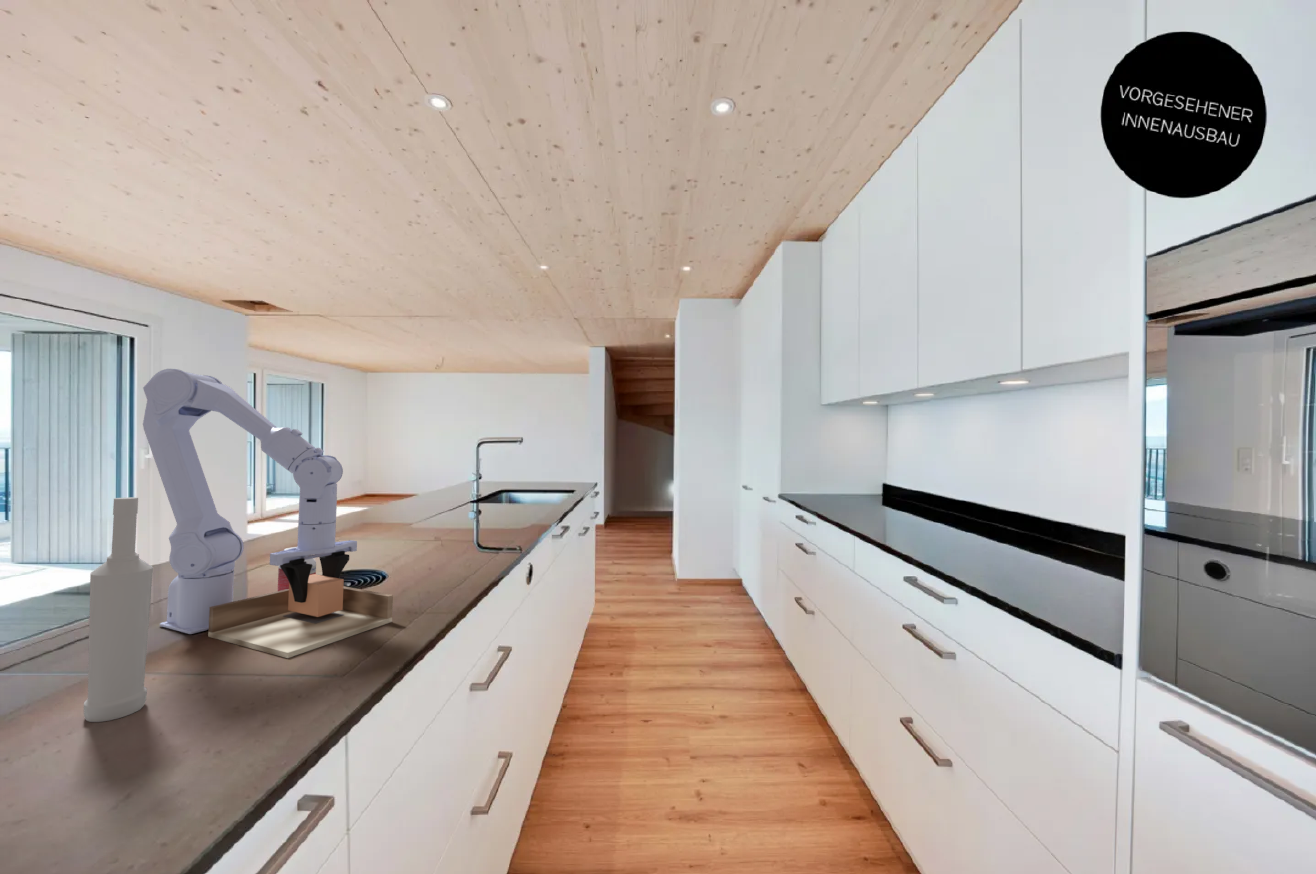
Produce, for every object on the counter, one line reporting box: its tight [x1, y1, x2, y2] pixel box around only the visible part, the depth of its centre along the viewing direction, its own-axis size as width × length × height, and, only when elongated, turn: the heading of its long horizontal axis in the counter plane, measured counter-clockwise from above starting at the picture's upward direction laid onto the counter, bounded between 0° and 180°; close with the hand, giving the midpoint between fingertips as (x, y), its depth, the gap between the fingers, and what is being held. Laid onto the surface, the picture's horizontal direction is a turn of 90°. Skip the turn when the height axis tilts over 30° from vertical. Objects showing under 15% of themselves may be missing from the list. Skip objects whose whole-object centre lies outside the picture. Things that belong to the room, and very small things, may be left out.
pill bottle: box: [276, 546, 317, 592], centre depth 101 cm, size 6×6×11 cm
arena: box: [207, 585, 394, 659], centre depth 88 cm, size 20×18×5 cm
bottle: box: [83, 496, 154, 723], centre depth 60 cm, size 5×5×25 cm
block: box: [288, 573, 345, 617], centre depth 93 cm, size 8×4×6 cm, turn 68°
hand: (314, 597), depth 93 cm, fingers closed on block, 4 cm apart
